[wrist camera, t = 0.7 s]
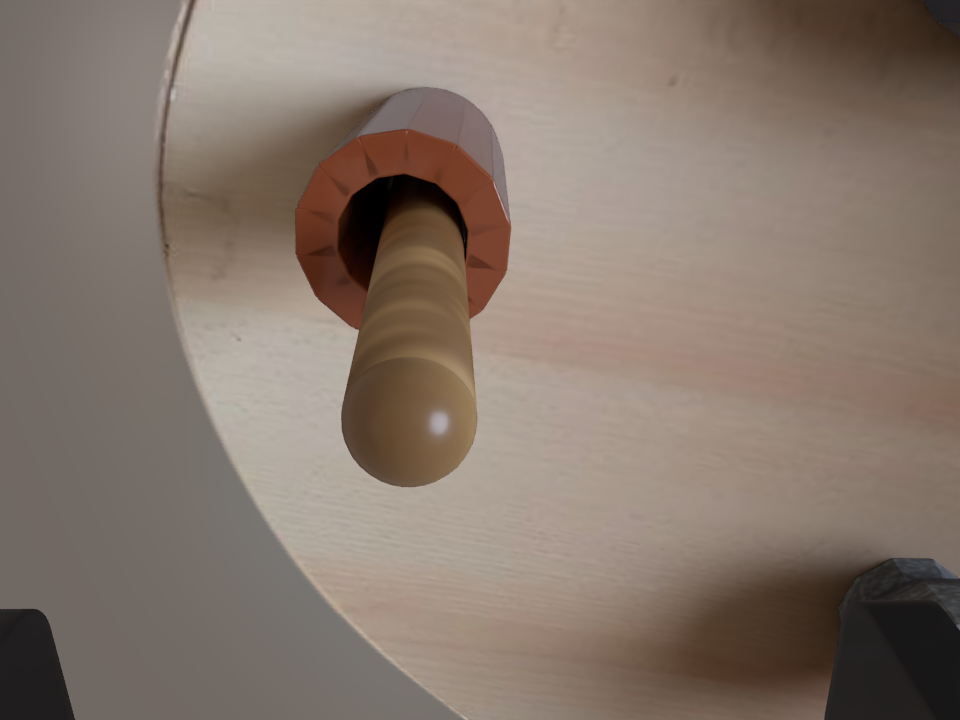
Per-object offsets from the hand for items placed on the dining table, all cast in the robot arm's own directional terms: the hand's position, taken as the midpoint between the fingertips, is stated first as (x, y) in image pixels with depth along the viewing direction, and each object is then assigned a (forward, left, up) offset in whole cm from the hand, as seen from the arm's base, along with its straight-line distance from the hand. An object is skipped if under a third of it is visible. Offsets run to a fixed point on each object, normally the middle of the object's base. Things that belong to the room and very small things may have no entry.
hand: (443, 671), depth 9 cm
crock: (-2, -1, -29) cm, 29 cm away
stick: (-2, -1, -28) cm, 28 cm away
